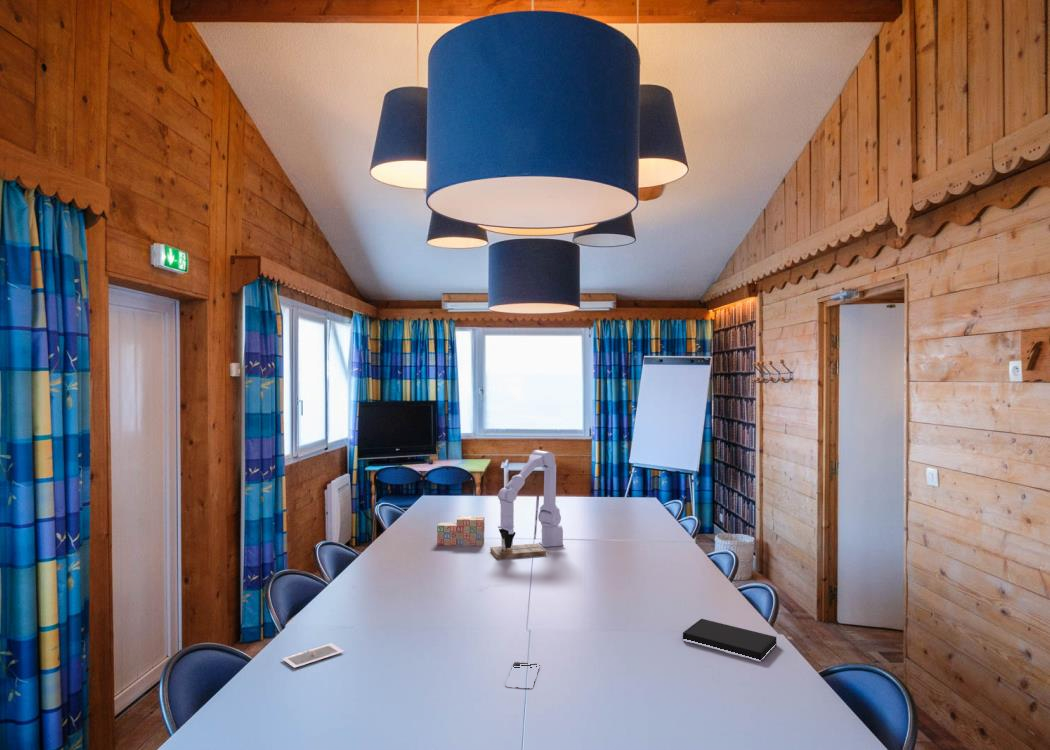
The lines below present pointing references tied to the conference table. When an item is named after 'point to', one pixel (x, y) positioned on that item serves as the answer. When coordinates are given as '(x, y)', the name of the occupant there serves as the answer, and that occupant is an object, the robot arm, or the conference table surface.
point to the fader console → (518, 551)
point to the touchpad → (312, 655)
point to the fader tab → (505, 546)
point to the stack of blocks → (462, 532)
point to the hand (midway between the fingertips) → (507, 546)
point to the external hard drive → (730, 638)
